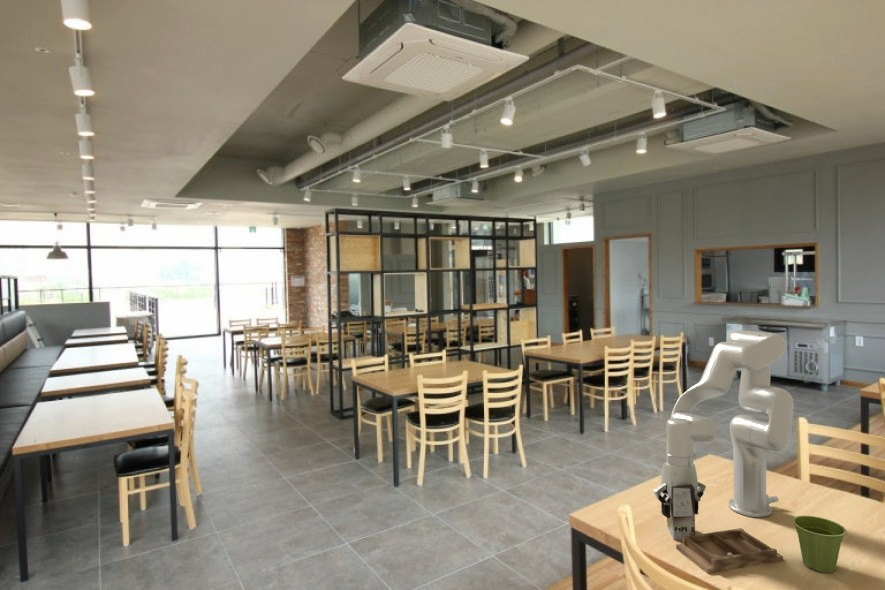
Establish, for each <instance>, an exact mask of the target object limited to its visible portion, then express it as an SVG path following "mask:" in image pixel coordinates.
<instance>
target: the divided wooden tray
mask: <svg viewBox="0 0 885 590" xmlns="http://www.w3.org/2000/svg"><path fill="white" fill-rule="evenodd" d="M681 542H682V543H678V544H677V543H676V544H675V545H676V546H675V548H676V550H677V551H679V553H681V554H683V556H685V557H686V558H687V559H689V560H690V561H691V562H692V563H694V564H695V565H696V566H697V567H698V568H700V569H701V570H703V572H705V573H706V574H712V573H716V572H722V571H729V570H734V569H735V570H736V569H740V568H741V569H742V568H746V567H753V566H759V565H764V564H769V563H777V562H782V561H784V556H783V555H782V554H781V553H779V552H778V549H776V548H772V547H771V546H769V545H767V544H766V543H764V542H762V540H759V539H758V538H756V537H754V536H753V535H751V534H749V533H748V532H746V531H745V530H744V528H742V527H740V528H733V529H728V530H727V529H726V530H725V529H724V530H720V531H712V532H707V533H700V534H695V535H692V536H686V537H682V540H681Z"/></svg>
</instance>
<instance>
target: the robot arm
mask: <svg viewBox="0 0 885 590" xmlns="http://www.w3.org/2000/svg"><path fill="white" fill-rule="evenodd" d="M786 348H787V344H786V340H785V339H784V337H783V336H781V335H780V334H778V333H774V332H764V331H756V330H755V331H754V330H736V331H735V330H734V331H732V332H730V334H729V336H728V341H721V342H718V343H717V344H716V345H714V347H713V349H712V351H711V354H710V356H709V359H708V360H707V363H706V366H705V368H704V370H703V373H702V375H701V378H700V380H699V381H698V382H697V383H696V384H694V385H692V386H691V387H689V388H688V389H687V390H686V391H684V393H682V394H681V395H680V396H679V397H678V399H677V401H676V402H675V404H674V406H673V408H672V411H671V414H670V418H669V419H668V420H667V421H666V422H665V423H666V424H665V426H666V427H665V428H666V429H665V432H666V436H665V439H666V441H665V442H666V446H665V447H666V452H665V453H666V454H665V455H666V456H665V457H666V461H665V462H663V466H662V470H661V477H660V478H661V479H660V485H659V486H657V487H656V488H654V489H653V493H654V494H655V496H656V497H655V498H656V499H657V500H658V501H659V502H660V504H661V505H660V506H661V514H662V516H664V517H665V518H666V519H667V518H670V505H668V504H669V502H670V501H671V500H672V487H677V486H683V485H691V484H692V485H693V487H694V488H695V515H699V502H700V501H701V498H702V497H703V495H704V492H705V490H706V489H707V488H706V487H707V486H706V485H705V483H701V482H699V481H698V474H697V468H696V465H695V463H694V459H696V458H697V456H696V454H694V444H695V443H710V442H712V441H713V440H715V439H716V438H717V436H718V434H719V427H718V425H717V423H716V421H714V420H712V419H711V418H709V417H706V416H701V415H699V414H694V413H692V412H693V410H694V408H695V407H696V406H697V405H698V404H700V403H702V402H703V401H706V400H709V399H712V398H713V399H714V398H718V397H721V396H722V397H723V396H725V395H727V394H728V393H729V391H730V388H731V385H732V384H733V381H734V378H735V377H736V373H737V371H740V372H741V373H740V380H739V388H738V389H739V390H738V404H739V406H740V408H742V409H743V410H745V411H747V412H752V413H755V414H759V415H764V416H768V419H767V418H766V419H765V418H762V417H758V416H754V415H749V414H737V415H735V416H734V417H732V419H731V420H730V422H729V434H730V439H731V442H732V443H731V444H732V454H733V455H732V456H733V457H732V458H733V461H732V462H733V464H732V465H733V466H732V467H733V470H732V471H733V477H732V478H733V480H732V481H733V498H731V499H730V500H729V501H728V507H729V509H731V510H732V511H733V512H735V513H737V514H740V515H744V516H747V517H751V518H752V517H753V518H765V517H769V516H771V515H772V514H773V509H772V507H771V506H770V505H771V504H772V503H778V502H779V498H778V496H777V495H772V496H769V495H768V494H767V458H766V455H765V452H764V450H765V451H769V452H772V453H776V454H777V453H782V452H785V451H786V450H787V449H788V446H789V444H790V441H791V436H792V435H791V434H792V425H793V419H794V418H793V416H794V406H795V404H794V398H793V397H792V394H791V393H790V392H789V391H787V390H786V389H784V388H781V387H776V386H771V374H772V372H771V367H770V365H771V364H773V363H775V362H777V361H778V360H780V359H781V357H783V355H784V354H785V351H786ZM667 496H668V497H667Z"/></svg>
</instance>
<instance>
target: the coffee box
mask: <svg viewBox="0 0 885 590" xmlns="http://www.w3.org/2000/svg"><path fill="white" fill-rule="evenodd" d="M667 497H668V496H667ZM667 497H666V498H667ZM668 505H670V518H667V517H666V524H667V525H666V526H667V529H668V530H669V533H670V534H671V536H672V538H673V540H676V541H682V537H686V536H692V535H696V517H695V515H696V514H695V488H694V487H693V485H692V484H691V485H683V486H677V487H672V500H671V501H670V502H669V504H668Z"/></svg>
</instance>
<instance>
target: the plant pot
mask: <svg viewBox="0 0 885 590" xmlns="http://www.w3.org/2000/svg"><path fill="white" fill-rule="evenodd" d="M792 523H793V524H794V525H795V531H796V534H797V537H798V542H799V548H800V553H801V558H802V563H803V565H804V566H806V567H808V568H809V569H813V570H815V571H816V570H817V572H819V571H821V572H820V573H827V572H829V573H832V572H833V573H834V572H835V570H836V569H837V564H838V559H839V554H840V548H841V544H842V542H843V539H844V536H845V535H846V534H847V529H846V528H845V527H844V526H843V525H841V524H840V523H838V522H835V521H833V520H831V519H827V518H824V517H820V516H814V515H798V516H795V517H793V518H792Z"/></svg>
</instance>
